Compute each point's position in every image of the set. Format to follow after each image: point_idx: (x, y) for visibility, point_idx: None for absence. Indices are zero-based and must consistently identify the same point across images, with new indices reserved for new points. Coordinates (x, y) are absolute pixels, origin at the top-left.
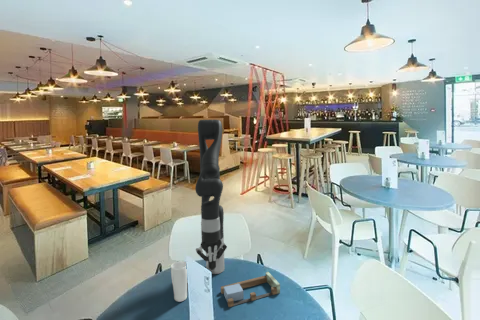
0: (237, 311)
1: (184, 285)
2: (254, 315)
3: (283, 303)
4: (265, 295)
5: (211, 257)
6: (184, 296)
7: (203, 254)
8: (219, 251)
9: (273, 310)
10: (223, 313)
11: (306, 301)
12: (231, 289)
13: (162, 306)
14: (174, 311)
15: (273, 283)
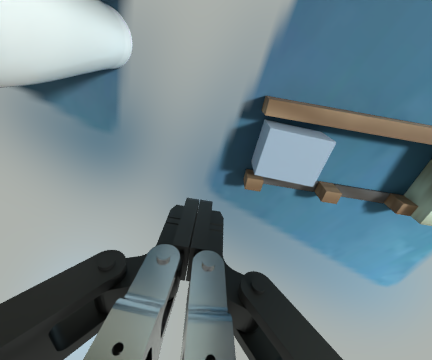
0: (253, 201)
1: (83, 72)
2: (278, 230)
3: (367, 236)
4: (363, 196)
5: (164, 326)
6: (113, 67)
7: (48, 352)
8: (289, 345)
9: (326, 239)
10: (218, 189)
11: (413, 256)
12: (284, 159)
13: None
14: (84, 105)
15: (430, 198)
